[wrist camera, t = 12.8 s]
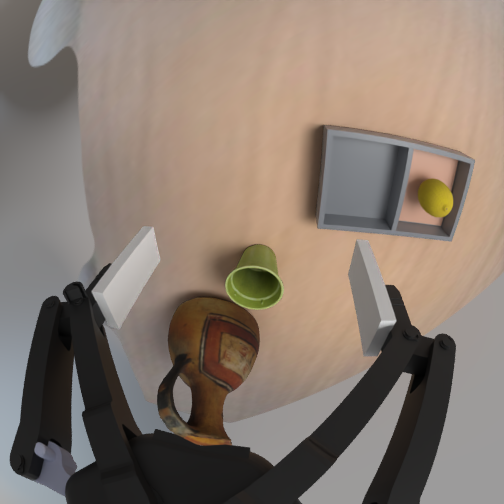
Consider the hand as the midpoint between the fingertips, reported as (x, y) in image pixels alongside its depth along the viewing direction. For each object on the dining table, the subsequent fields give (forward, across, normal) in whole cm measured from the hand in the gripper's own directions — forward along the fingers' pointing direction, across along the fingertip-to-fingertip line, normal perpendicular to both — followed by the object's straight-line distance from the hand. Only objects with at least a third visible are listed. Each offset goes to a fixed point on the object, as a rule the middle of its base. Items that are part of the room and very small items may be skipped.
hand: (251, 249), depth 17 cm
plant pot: (+27, -2, -20) cm, 34 cm away
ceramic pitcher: (+27, -11, -38) cm, 48 cm away
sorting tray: (+27, +20, -3) cm, 33 cm away
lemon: (+26, +25, -3) cm, 36 cm away
